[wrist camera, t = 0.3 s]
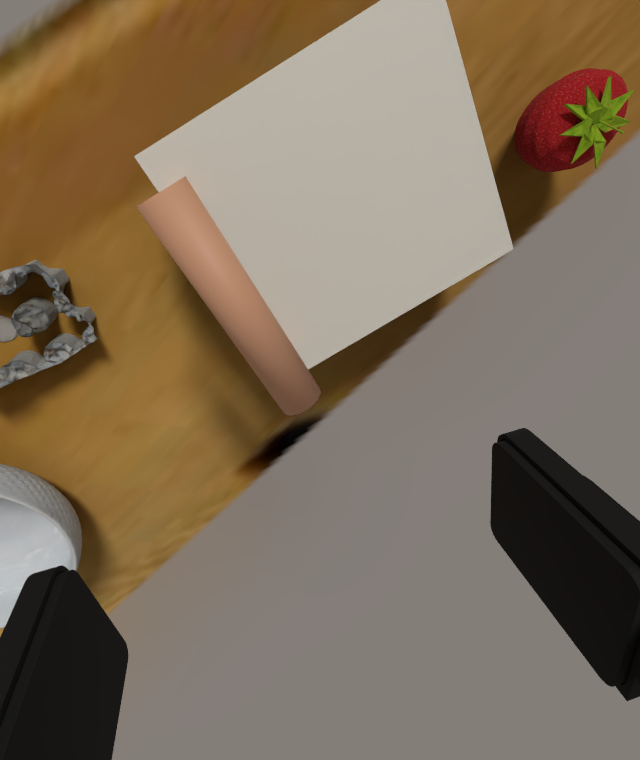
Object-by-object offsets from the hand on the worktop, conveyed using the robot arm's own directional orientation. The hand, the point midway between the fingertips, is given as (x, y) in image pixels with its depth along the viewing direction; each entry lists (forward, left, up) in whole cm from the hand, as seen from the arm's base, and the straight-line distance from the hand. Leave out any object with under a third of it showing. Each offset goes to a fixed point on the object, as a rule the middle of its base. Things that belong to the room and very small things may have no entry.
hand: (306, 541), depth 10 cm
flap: (-8, -1, -21) cm, 22 cm away
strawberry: (-26, +3, -30) cm, 39 cm away
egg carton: (+17, -5, -30) cm, 35 cm away
